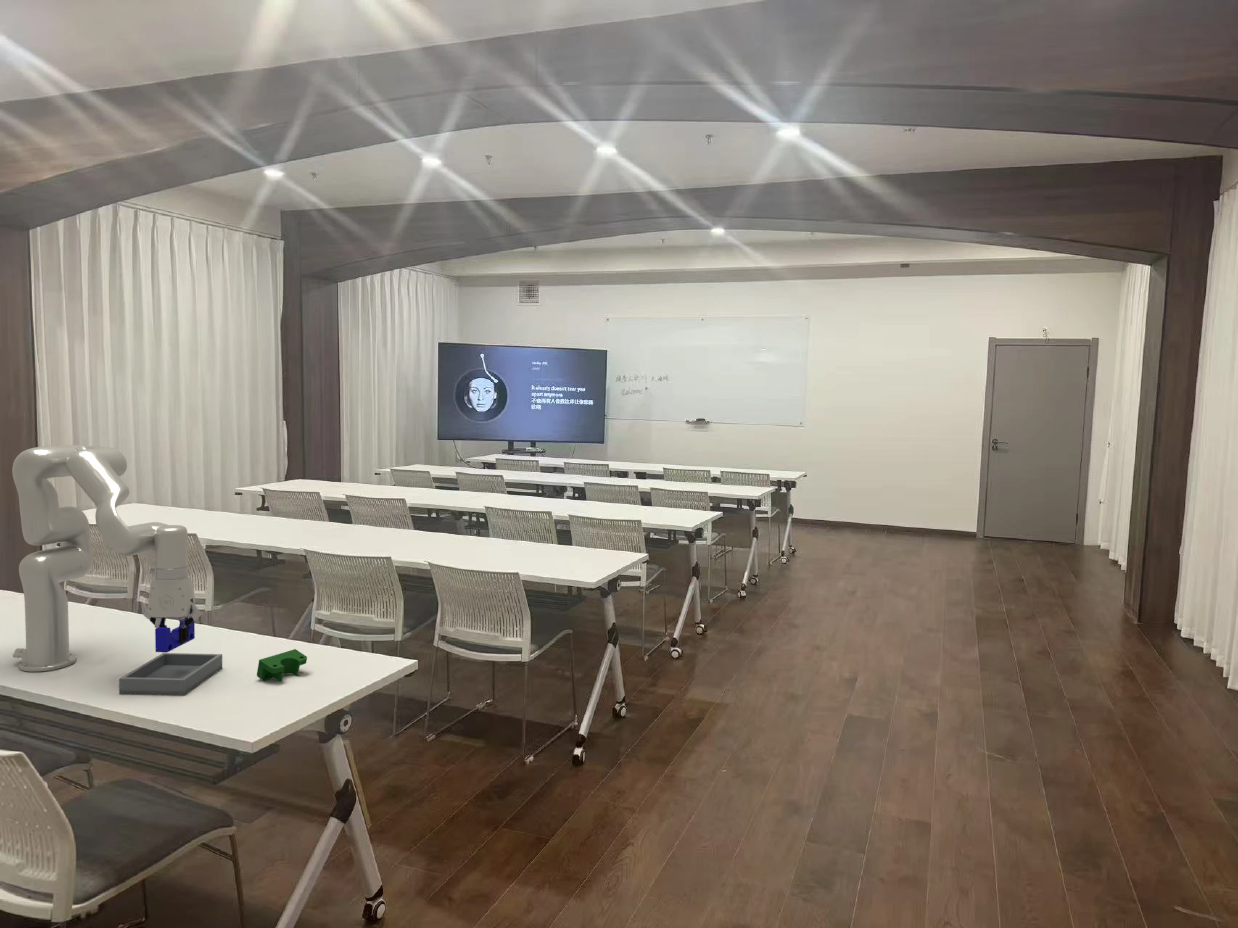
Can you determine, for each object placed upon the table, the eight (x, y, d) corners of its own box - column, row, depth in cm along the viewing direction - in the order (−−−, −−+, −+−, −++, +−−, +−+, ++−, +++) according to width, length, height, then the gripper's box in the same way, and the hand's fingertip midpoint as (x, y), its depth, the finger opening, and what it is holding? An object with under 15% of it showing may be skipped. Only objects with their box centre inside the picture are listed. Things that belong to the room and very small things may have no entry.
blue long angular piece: (178, 637, 212) (178, 615, 212) (194, 638, 212) (194, 616, 212) (149, 651, 200) (149, 628, 200) (167, 652, 200) (166, 629, 200)
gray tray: (119, 694, 197) (118, 678, 197) (163, 667, 217) (163, 652, 216) (184, 695, 197) (184, 679, 197) (222, 668, 217) (222, 654, 217)
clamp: (274, 698, 209) (267, 673, 204) (260, 688, 212) (253, 663, 207) (312, 670, 218) (306, 646, 213) (298, 661, 220) (292, 637, 216)
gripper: (130, 575, 201) (131, 645, 202) (197, 577, 201) (198, 647, 203) (146, 569, 208) (148, 637, 210) (211, 570, 209) (213, 638, 210)
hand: (173, 641), depth 206 cm, fingers closed on blue long angular piece, 4 cm apart
